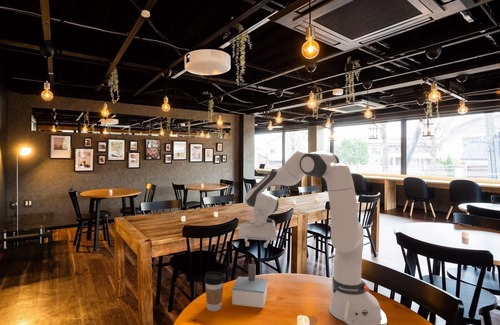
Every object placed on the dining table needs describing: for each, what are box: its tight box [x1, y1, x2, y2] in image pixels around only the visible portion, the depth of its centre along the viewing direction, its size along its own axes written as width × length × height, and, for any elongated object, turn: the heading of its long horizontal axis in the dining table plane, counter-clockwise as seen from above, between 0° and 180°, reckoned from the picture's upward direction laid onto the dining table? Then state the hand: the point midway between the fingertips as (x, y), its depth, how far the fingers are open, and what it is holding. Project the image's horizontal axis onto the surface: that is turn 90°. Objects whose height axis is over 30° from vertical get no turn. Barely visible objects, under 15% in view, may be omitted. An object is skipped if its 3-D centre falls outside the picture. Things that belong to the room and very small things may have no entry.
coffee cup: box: [204, 271, 225, 312], centre depth 115 cm, size 8×8×15 cm
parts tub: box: [231, 282, 268, 309], centre depth 123 cm, size 14×12×7 cm
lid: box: [231, 263, 268, 293], centre depth 123 cm, size 14×12×9 cm
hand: (256, 246), depth 137 cm, fingers open, 8 cm apart
